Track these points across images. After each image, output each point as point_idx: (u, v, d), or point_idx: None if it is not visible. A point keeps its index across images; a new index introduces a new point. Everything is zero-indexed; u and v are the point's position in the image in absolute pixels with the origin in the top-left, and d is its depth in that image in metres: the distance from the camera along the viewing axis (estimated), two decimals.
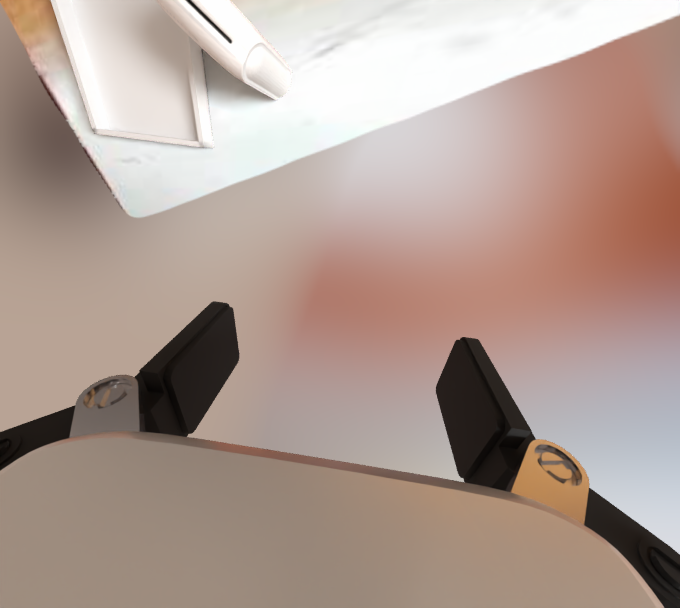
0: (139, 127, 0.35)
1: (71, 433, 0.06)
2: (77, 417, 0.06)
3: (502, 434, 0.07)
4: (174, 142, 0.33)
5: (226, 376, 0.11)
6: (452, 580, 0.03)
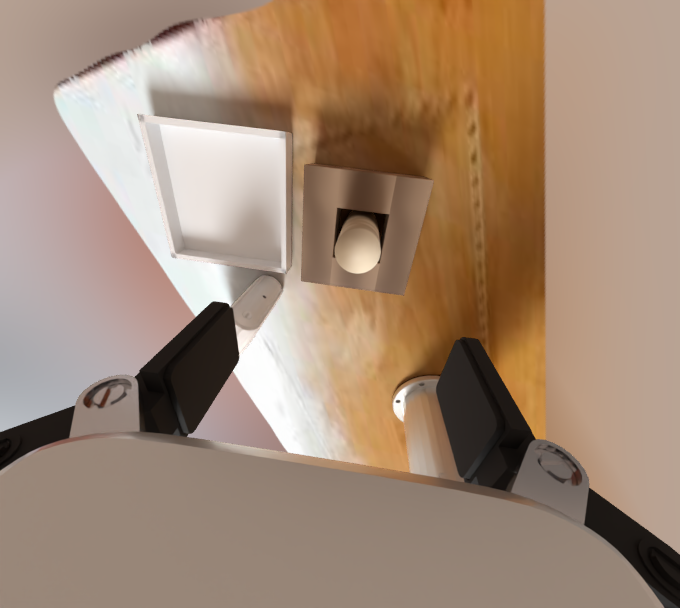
0: (174, 171, 0.30)
1: (71, 433, 0.06)
2: (77, 417, 0.06)
3: (502, 434, 0.07)
4: (165, 226, 0.31)
5: (226, 376, 0.11)
6: (453, 580, 0.03)
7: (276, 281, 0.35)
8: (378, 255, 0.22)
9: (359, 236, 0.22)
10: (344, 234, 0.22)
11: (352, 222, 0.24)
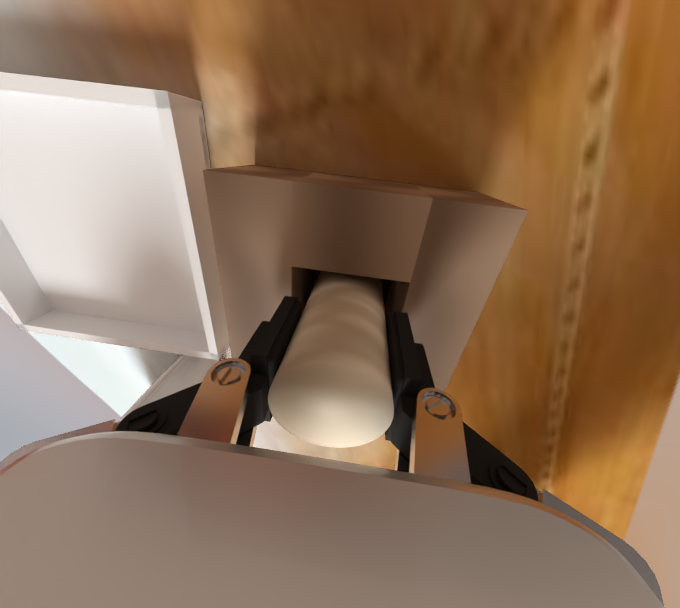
0: None
1: (194, 399, 0.07)
2: (203, 386, 0.07)
3: (402, 384, 0.08)
4: None
5: None
6: (453, 580, 0.03)
7: (211, 361, 0.21)
8: (387, 419, 0.08)
9: (332, 378, 0.07)
10: (289, 372, 0.07)
11: (321, 310, 0.10)
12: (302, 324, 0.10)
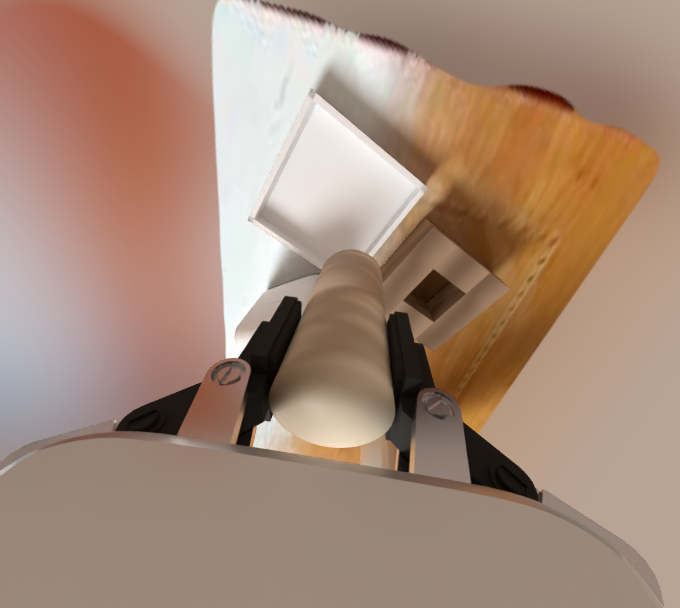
0: (301, 149, 0.29)
1: (194, 399, 0.07)
2: (203, 386, 0.07)
3: (402, 384, 0.08)
4: (262, 192, 0.29)
5: None
6: (453, 580, 0.03)
7: None
8: (388, 419, 0.08)
9: (333, 378, 0.07)
10: (290, 372, 0.07)
11: (322, 310, 0.10)
12: (303, 324, 0.10)
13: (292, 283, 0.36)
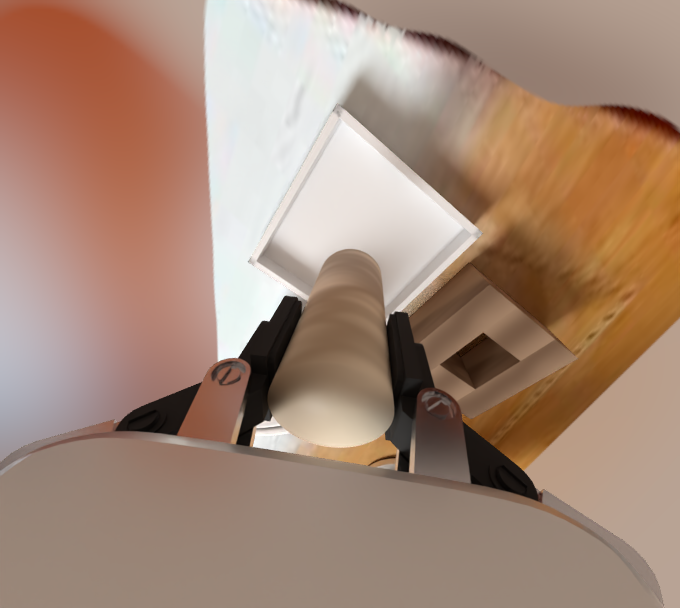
0: (318, 177, 0.22)
1: (194, 399, 0.07)
2: (202, 386, 0.07)
3: (402, 384, 0.08)
4: (267, 230, 0.23)
5: None
6: (453, 579, 0.03)
7: None
8: (388, 419, 0.08)
9: (332, 378, 0.07)
10: (289, 371, 0.07)
11: (321, 309, 0.10)
12: (302, 323, 0.10)
13: None
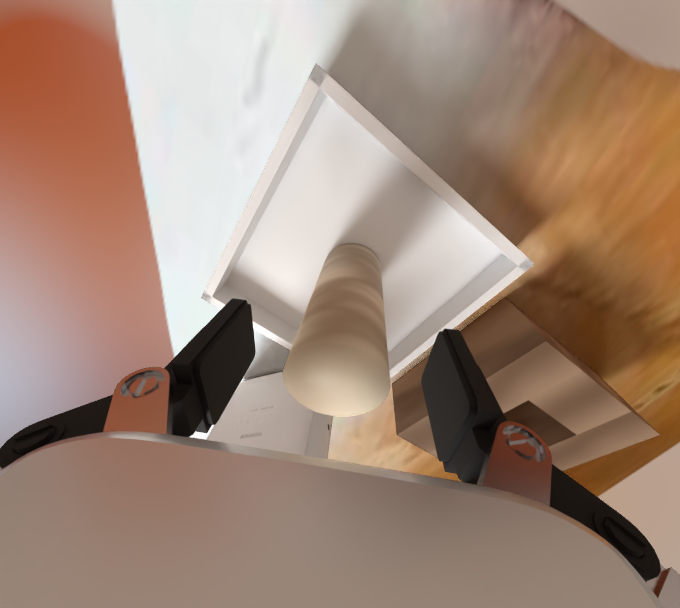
0: (294, 181, 0.15)
1: (107, 419, 0.06)
2: (114, 404, 0.06)
3: (474, 417, 0.07)
4: (224, 256, 0.16)
5: (244, 371, 0.11)
6: (452, 580, 0.03)
7: None
8: (384, 391, 0.09)
9: (338, 355, 0.09)
10: (301, 350, 0.09)
11: (327, 298, 0.11)
12: (310, 311, 0.11)
13: (280, 383, 0.23)
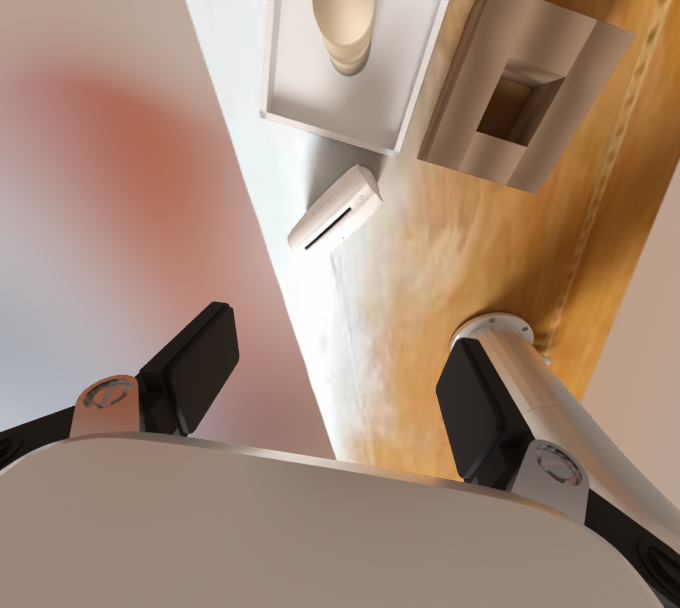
0: None
1: (71, 433, 0.06)
2: (77, 417, 0.06)
3: (502, 434, 0.07)
4: (264, 68, 0.24)
5: (226, 376, 0.11)
6: (453, 580, 0.03)
7: (372, 174, 0.30)
8: None
9: None
10: None
11: None
12: None
13: None
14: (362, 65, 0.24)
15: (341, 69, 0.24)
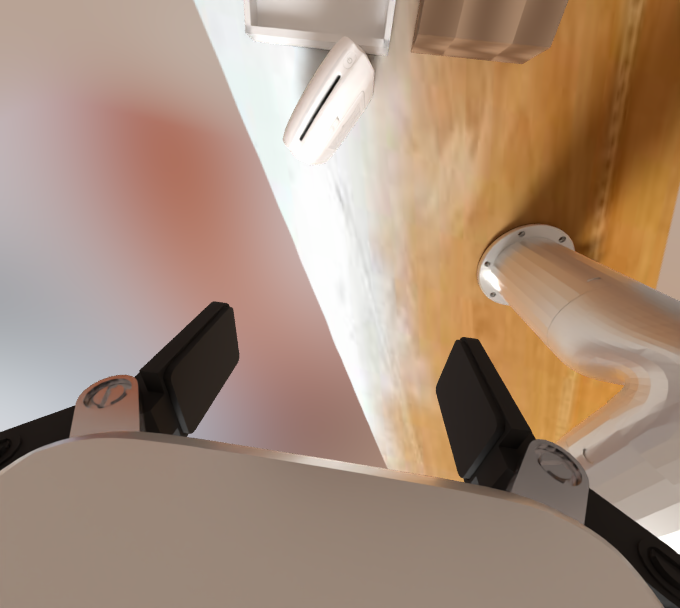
0: None
1: (71, 433, 0.06)
2: (77, 417, 0.06)
3: (502, 434, 0.07)
4: None
5: (226, 376, 0.11)
6: (453, 580, 0.03)
7: None
8: None
9: None
10: None
11: None
12: None
13: None
14: None
15: None
